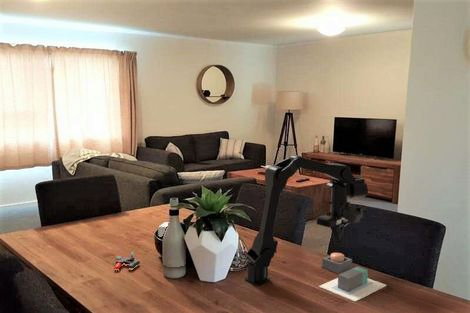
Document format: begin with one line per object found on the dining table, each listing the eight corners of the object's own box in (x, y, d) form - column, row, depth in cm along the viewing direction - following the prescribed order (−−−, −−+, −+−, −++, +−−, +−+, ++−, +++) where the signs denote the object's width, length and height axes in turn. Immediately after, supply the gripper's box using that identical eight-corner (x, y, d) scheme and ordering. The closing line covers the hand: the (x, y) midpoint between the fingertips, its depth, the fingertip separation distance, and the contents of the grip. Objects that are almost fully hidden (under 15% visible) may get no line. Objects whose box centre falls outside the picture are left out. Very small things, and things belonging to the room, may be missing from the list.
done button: (338, 266, 156) (338, 258, 156) (327, 262, 160) (328, 254, 159) (346, 263, 159) (346, 255, 159) (335, 259, 163) (336, 251, 163)
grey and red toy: (118, 260, 168) (117, 248, 167) (143, 265, 163) (143, 253, 162) (100, 269, 159) (100, 257, 158) (126, 275, 154) (126, 262, 153)
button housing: (339, 274, 154) (339, 264, 154) (321, 267, 160) (321, 258, 160) (352, 268, 159) (352, 259, 159) (334, 262, 165) (334, 253, 165)
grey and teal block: (348, 291, 139) (348, 278, 139) (337, 287, 142) (338, 274, 142) (367, 282, 146) (367, 269, 146) (357, 278, 149) (357, 266, 149)
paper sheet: (355, 301, 133) (355, 300, 133) (318, 286, 144) (318, 285, 144) (386, 285, 145) (386, 284, 145) (350, 273, 155) (350, 271, 155)
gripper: (342, 207, 144) (340, 252, 146) (373, 198, 156) (371, 240, 158) (316, 201, 153) (314, 243, 155) (347, 193, 165) (345, 233, 167)
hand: (337, 240), depth 158 cm, fingers closed
